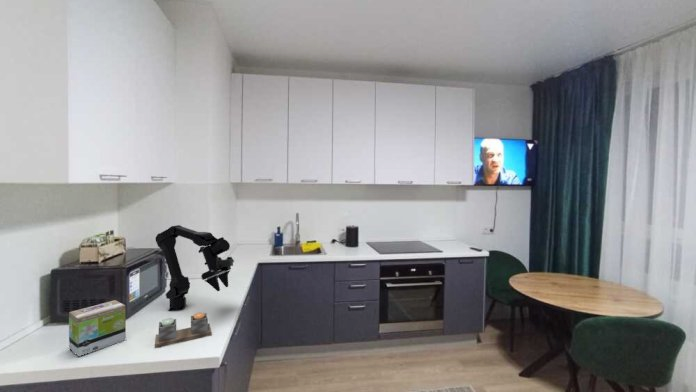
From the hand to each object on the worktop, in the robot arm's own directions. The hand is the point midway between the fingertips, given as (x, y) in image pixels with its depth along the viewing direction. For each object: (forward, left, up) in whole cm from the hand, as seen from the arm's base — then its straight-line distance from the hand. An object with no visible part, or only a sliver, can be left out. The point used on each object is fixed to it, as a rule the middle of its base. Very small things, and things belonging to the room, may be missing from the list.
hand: (223, 288), depth 141 cm
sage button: (-19, -17, -7) cm, 26 cm away
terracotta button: (-8, -14, -7) cm, 17 cm away
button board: (-13, -15, -14) cm, 24 cm away
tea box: (-44, -14, -14) cm, 48 cm away
